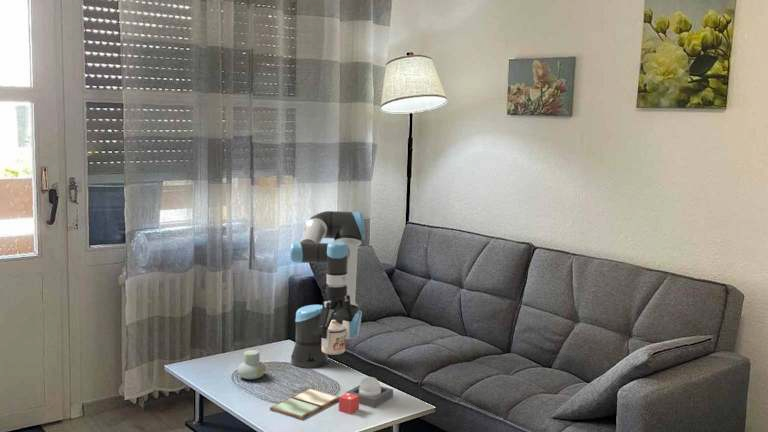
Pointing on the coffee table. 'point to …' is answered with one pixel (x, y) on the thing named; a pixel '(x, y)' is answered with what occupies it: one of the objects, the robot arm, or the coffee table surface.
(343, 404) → the red die
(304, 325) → the robot arm
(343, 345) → the teacup with lid
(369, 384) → the dome button
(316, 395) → the wooden picture frame
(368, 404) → the button bezel
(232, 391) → the coffee table surface
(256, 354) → the air freshener
